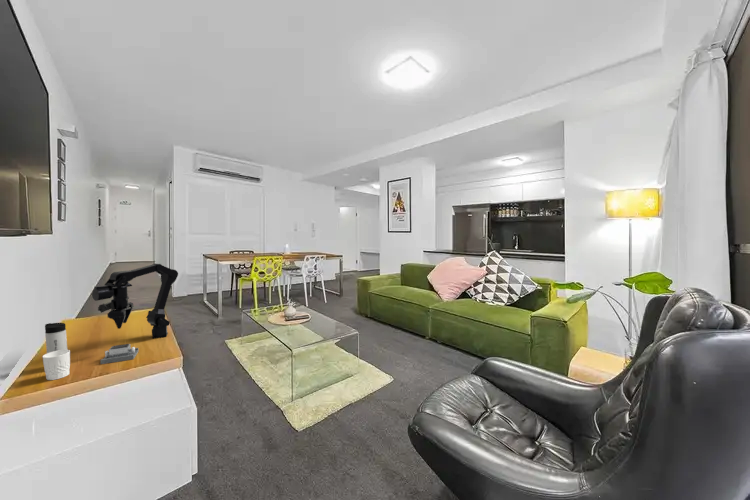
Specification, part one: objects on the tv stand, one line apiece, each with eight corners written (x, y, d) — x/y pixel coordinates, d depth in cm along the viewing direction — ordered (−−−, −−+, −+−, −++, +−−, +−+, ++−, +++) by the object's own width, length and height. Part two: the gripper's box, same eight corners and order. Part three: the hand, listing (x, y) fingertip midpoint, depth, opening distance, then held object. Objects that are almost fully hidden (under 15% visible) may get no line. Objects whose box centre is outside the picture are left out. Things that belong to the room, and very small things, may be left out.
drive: (130, 352, 146) (130, 343, 145) (128, 355, 142) (127, 346, 141) (112, 354, 143) (111, 345, 142) (109, 358, 139) (108, 349, 138)
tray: (138, 351, 149) (138, 343, 149) (133, 359, 141) (133, 350, 140) (107, 356, 144) (107, 347, 143) (100, 364, 135) (100, 355, 135)
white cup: (75, 373, 127) (74, 351, 126) (50, 382, 119) (49, 358, 119) (65, 370, 129) (63, 348, 129) (39, 379, 122) (38, 355, 121)
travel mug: (57, 363, 135) (53, 321, 134) (72, 363, 136) (69, 321, 134) (42, 370, 129) (39, 326, 127) (59, 370, 130) (55, 326, 128)
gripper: (106, 293, 155) (108, 322, 157) (92, 302, 139) (94, 334, 140) (132, 291, 160) (134, 319, 162) (122, 299, 144) (124, 330, 145)
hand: (122, 325), depth 152 cm, fingers open, 9 cm apart
